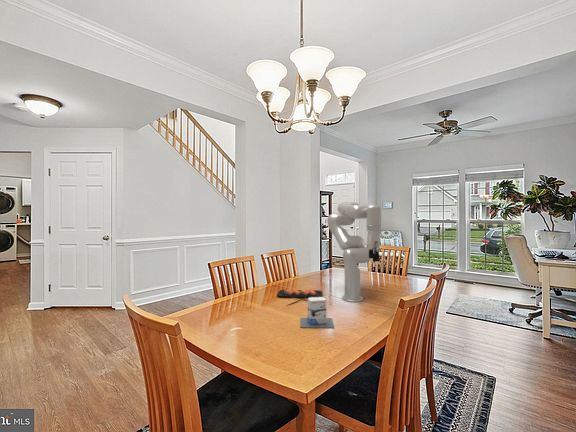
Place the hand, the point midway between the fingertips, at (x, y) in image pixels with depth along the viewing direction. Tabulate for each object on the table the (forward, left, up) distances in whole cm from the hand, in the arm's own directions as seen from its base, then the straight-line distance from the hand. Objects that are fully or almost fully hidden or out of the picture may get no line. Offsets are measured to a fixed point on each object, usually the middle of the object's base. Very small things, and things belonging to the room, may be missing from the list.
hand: (373, 259), depth 166 cm
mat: (+18, -32, -28) cm, 46 cm away
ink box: (+18, -32, -28) cm, 46 cm away
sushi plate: (-23, -41, -29) cm, 55 cm away
